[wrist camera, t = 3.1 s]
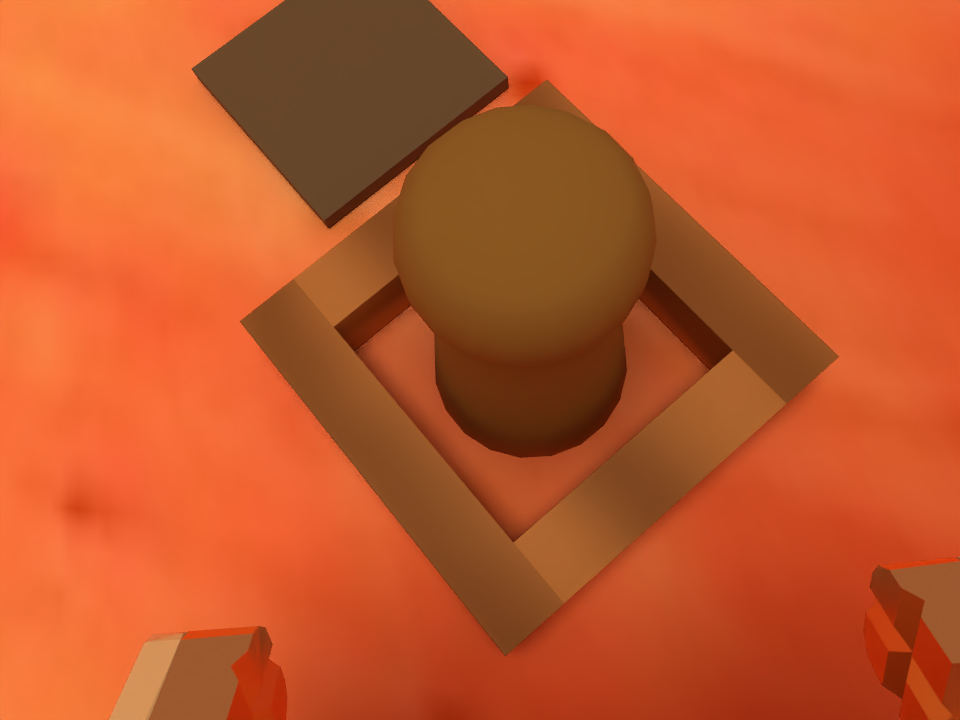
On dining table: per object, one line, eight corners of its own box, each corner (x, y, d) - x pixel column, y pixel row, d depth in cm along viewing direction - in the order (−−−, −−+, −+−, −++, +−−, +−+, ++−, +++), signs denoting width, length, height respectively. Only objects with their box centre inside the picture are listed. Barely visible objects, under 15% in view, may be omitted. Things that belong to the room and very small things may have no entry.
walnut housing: (546, 124, 27) (546, 79, 24) (808, 379, 23) (838, 356, 21) (268, 345, 25) (239, 321, 23) (509, 648, 22) (505, 656, 20)
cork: (538, 499, 23) (536, 432, 13) (395, 371, 25) (285, 215, 14) (666, 353, 24) (764, 177, 14) (521, 237, 26) (506, -3, 15)
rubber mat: (370, -47, 29) (366, -60, 29) (508, 87, 27) (507, 77, 26) (198, 79, 28) (191, 68, 28) (328, 228, 26) (324, 220, 26)
